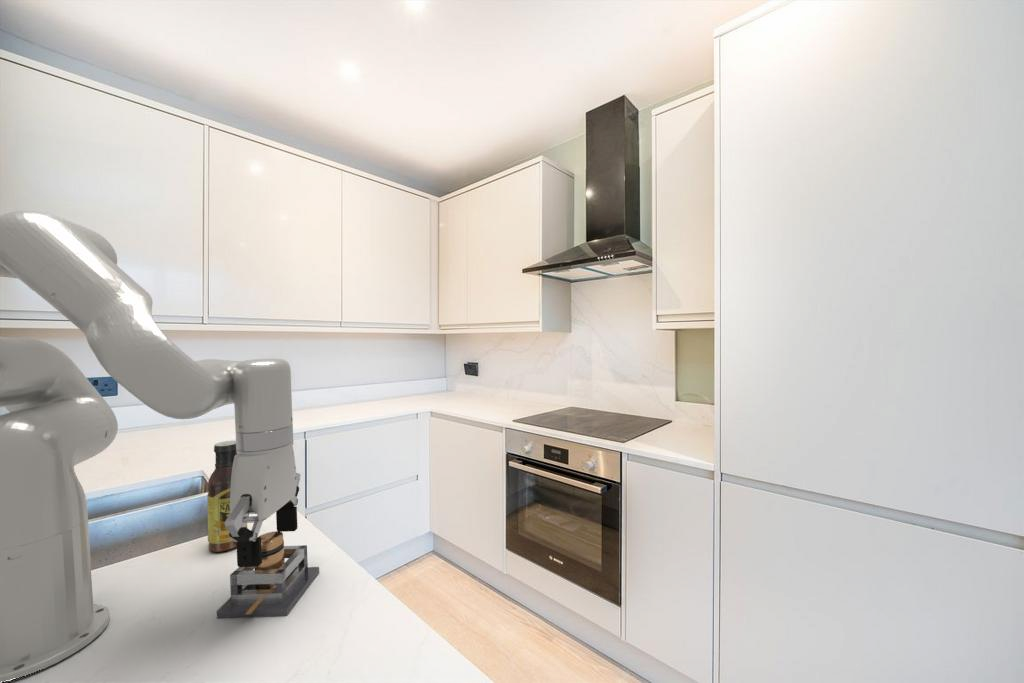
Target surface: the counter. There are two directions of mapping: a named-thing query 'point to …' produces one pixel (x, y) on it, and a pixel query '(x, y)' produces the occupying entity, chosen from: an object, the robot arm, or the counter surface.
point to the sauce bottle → (220, 497)
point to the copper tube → (271, 555)
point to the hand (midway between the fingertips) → (270, 546)
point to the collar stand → (271, 601)
